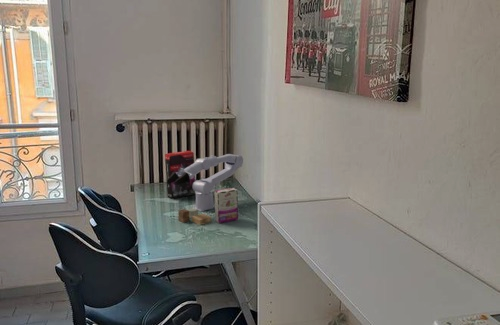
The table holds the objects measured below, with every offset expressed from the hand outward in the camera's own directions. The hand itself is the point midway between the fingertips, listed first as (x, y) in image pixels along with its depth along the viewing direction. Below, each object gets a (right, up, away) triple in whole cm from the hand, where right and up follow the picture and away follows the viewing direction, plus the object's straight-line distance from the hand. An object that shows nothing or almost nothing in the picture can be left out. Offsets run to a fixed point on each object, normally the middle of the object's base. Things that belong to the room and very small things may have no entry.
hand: (171, 182), depth 224 cm
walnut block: (+6, -20, -1) cm, 21 cm away
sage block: (+10, -18, +6) cm, 22 cm away
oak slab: (+16, -20, -2) cm, 26 cm away
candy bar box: (+28, -20, 0) cm, 35 cm away
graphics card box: (-2, -10, +44) cm, 45 cm away
